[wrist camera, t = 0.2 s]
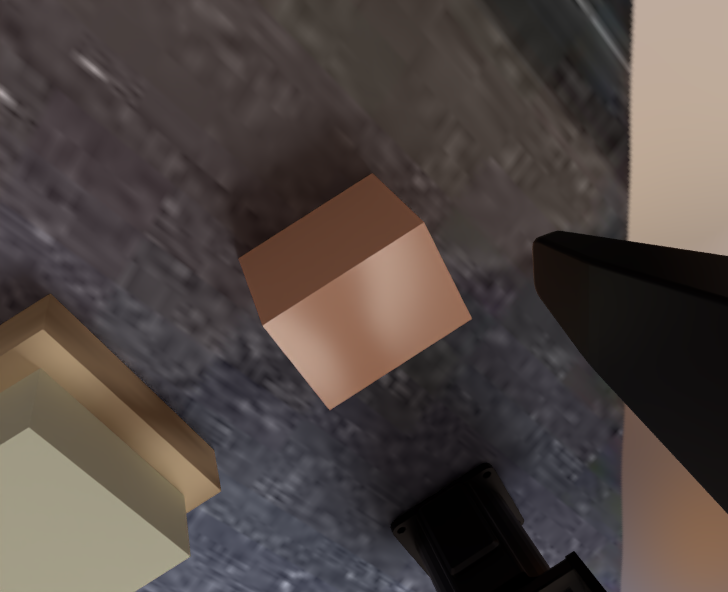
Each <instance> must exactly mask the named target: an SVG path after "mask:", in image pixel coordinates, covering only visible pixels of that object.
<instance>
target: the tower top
mask: <svg viewBox="0 0 728 592" xmlns="http://www.w3.org/2000/svg"><path fill="white" fill-rule="evenodd" d="M189 557H191V555H190V546H189V536H188V527H187V518H186V508H185V499H184V495H183V494H182V493H181V492H180V491H179V490H178V489H177V488H175V487H174V486H173V485H172V484H171V483H170V482H169V481H167V480H166V479H165V478H164V477H163V476H162V475H161V474H160V473H158V472H157V471H156V470H155V469H154V468H153V467H152V466H151V465H149V464H148V463H147V462H146V461H145V460H144V459H143V458H142V457H140V456H139V455H138V454H137V453H136V452H135V451H134V450H133V449H131V448H130V447H129V446H128V445H127V444H126V443H125V442H123V441H122V440H121V439H120V438H119V437H118V436H117V435H116V434H114V433H113V432H112V431H111V430H110V429H109V428H108V427H107V426H105V425H104V424H103V423H102V422H101V421H100V420H99V419H98V418H96V417H95V416H94V415H93V414H92V413H91V412H90V411H89V410H87V409H86V408H85V407H84V406H83V405H82V404H81V403H79V402H78V401H77V400H76V399H75V398H74V397H73V396H72V395H70V394H69V393H68V392H67V391H66V390H65V389H64V388H63V387H61V386H60V385H59V384H58V383H57V382H56V381H55V380H54V379H52V378H51V377H50V376H49V375H48V374H47V373H46V372H45V371H43V370H42V369H41V368H40V369H38V370H37V371H35V372H33V373H32V374H30V375H28V376H27V377H25V378H24V379H22V380H20V381H19V382H17V383H16V384H14V385H12V386H11V387H9V388H7V389H6V390H4V391H3V392H1V393H0V592H135V591H136V590H138V589H140V588H141V587H143V586H144V585H146V584H148V583H149V582H151V581H152V580H154V579H156V578H157V577H159V576H160V575H162V574H164V573H165V572H167V571H168V570H170V569H171V568H173V567H175V566H176V565H178V564H179V563H181V562H183V561H184V560H186V559H187V558H189Z"/></svg>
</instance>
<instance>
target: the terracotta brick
mask: <svg viewBox="0 0 728 592" xmlns="http://www.w3.org/2000/svg"><path fill="white" fill-rule="evenodd" d="M238 259H239V262H240V264H241V267H242V270H243V273H244V275H245V278H246V281H247V284H248V287H249V289H250V292H251V295H252V298H253V301H254V303H255V306H256V309H257V312H258V315H259V317H260V320H261V323H262V326H263V327H264V328H265V329H266V331H267V332H268V333H269V334H270V336H271V337H272V338H273V339H274V341H275V342H276V343H277V345H278V346H279V347H280V348H281V350H282V351H283V352H284V353H285V355H286V356H287V357H288V358H289V360H290V361H291V362H292V363H293V365H294V366H295V367H296V368H297V370H298V371H299V372H300V373H301V375H302V376H303V377H304V379H305V380H306V381H307V382H308V384H309V385H310V386H311V387H312V389H313V390H314V391H315V392H316V394H317V395H318V396H319V397H320V399H321V400H322V401H323V402H324V404H325V405H326V406H327V407H328V409H329V410H331V409H332V408H334V407H336V406H337V405H339V404H340V403H342V402H343V401H345V400H346V399H348V398H349V397H351V396H353V395H354V394H356V393H357V392H359V391H360V390H362V389H363V388H365V387H367V386H368V385H370V384H371V383H373V382H374V381H376V380H377V379H379V378H381V377H382V376H384V375H385V374H387V373H388V372H390V371H391V370H393V369H395V368H396V367H398V366H399V365H401V364H402V363H404V362H405V361H407V360H409V359H410V358H412V357H413V356H415V355H416V354H418V353H419V352H421V351H423V350H424V349H426V348H427V347H429V346H430V345H432V344H433V343H435V342H437V341H438V340H440V339H441V338H443V337H444V336H446V335H447V334H449V333H451V332H452V331H454V330H455V329H457V328H458V327H460V326H461V325H463V324H465V323H466V322H468V321H469V320H471V319H472V318H471V316H470V314H469V312H468V310H467V308H466V306H465V304H464V302H463V300H462V298H461V296H460V294H459V292H458V290H457V288H456V286H455V284H454V282H453V280H452V278H451V276H450V274H449V272H448V270H447V268H446V266H445V264H444V262H443V260H442V258H441V256H440V254H439V251H438V249H437V247H436V245H435V243H434V241H433V239H432V237H431V235H430V233H429V231H428V229H427V227H426V225H425V223H424V222H423V221H422V220H421V219H420V218H419V217H418V216H417V215H416V214H415V213H414V212H413V211H412V210H411V209H410V208H408V207H407V206H406V205H405V204H404V203H403V202H402V201H401V200H400V199H399V198H398V197H397V196H396V195H395V194H394V193H393V192H392V191H391V190H390V189H389V188H387V187H386V186H385V185H384V184H383V183H382V182H381V181H380V180H379V179H378V178H377V177H376V176H375V175H374V174H373V173H372V174H370V175H368V176H367V177H365V178H364V179H362V180H361V181H359V182H357V183H356V184H354V185H353V186H351V187H350V188H348V189H346V190H345V191H343V192H342V193H340V194H339V195H337V196H335V197H334V198H332V199H331V200H329V201H328V202H326V203H325V204H323V205H321V206H320V207H318V208H317V209H315V210H314V211H312V212H310V213H309V214H307V215H306V216H304V217H303V218H301V219H299V220H298V221H296V222H295V223H293V224H292V225H290V226H288V227H287V228H285V229H284V230H282V231H281V232H279V233H277V234H276V235H274V236H273V237H271V238H270V239H268V240H266V241H265V242H263V243H262V244H260V245H259V246H257V247H255V248H254V249H252V250H251V251H249V252H248V253H246V254H245V255H243V256H241V257H240V258H238Z"/></svg>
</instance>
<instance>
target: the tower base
mask: <svg viewBox="0 0 728 592" xmlns="http://www.w3.org/2000/svg"><path fill="white" fill-rule="evenodd" d="M40 368H41V369H42V370H43V371H45V372H46V373H47V374H48V375H49V376H50V377H51V378H52V379H54V380H55V381H56V382H57V383H58V384H59V385H60V386H61V387H63V388H64V389H65V390H66V391H67V392H68V393H69V394H70V395H72V396H73V397H74V398H75V399H76V400H77V401H78V402H79V403H81V404H82V405H83V406H84V407H85V408H86V409H87V410H89V411H90V412H91V413H92V414H93V415H94V416H95V417H96V418H98V419H99V420H100V421H101V422H102V423H103V424H104V425H105V426H107V427H108V428H109V429H110V430H111V431H112V432H113V433H114V434H116V435H117V436H118V437H119V438H120V439H121V440H122V441H123V442H125V443H126V444H127V445H128V446H129V447H130V448H131V449H133V450H134V451H135V452H136V453H137V454H138V455H139V456H140V457H142V458H143V459H144V460H145V461H146V462H147V463H148V464H149V465H151V466H152V467H153V468H154V469H155V470H156V471H157V472H158V473H160V474H161V475H162V476H163V477H164V478H165V479H166V480H167V481H169V482H170V483H171V484H172V485H173V486H174V487H175V488H177V489H178V490H179V491H180V492H181V493H182V494H183V495H184V499H185V508H186V513H188V512H189V511H191V510H192V509H194V508H195V507H197V506H199V505H200V504H202V503H203V502H205V501H206V500H208V499H210V498H211V497H213V496H214V495H216V494H217V493H219V492H220V491H221V487H220V481H219V475H218V470H217V464H216V458H215V453H214V450H213V449H212V448H211V447H210V446H209V445H208V444H207V443H206V442H205V441H204V440H203V439H202V438H201V437H200V436H199V435H198V434H197V433H196V432H194V431H193V430H192V429H191V428H190V427H189V426H188V425H187V424H186V423H185V422H184V421H183V420H182V419H181V418H180V417H179V416H178V415H177V414H176V413H175V412H174V411H173V410H172V409H171V408H169V407H168V406H167V405H166V404H165V403H164V402H163V401H162V400H161V399H160V398H159V397H158V396H157V395H156V394H155V393H154V392H153V391H152V390H151V389H150V388H149V387H148V386H147V385H145V384H144V383H143V382H142V381H141V380H140V379H139V378H138V377H137V376H136V375H135V374H134V373H133V372H132V371H131V370H130V369H129V368H128V367H127V366H126V365H125V364H124V363H123V362H121V361H120V360H119V359H118V358H117V357H116V356H115V355H114V354H113V353H112V352H111V351H110V350H109V349H108V348H107V347H106V346H105V345H104V344H103V343H102V342H101V341H100V340H99V339H98V338H96V337H95V336H94V335H93V334H92V333H91V332H90V331H89V330H88V329H87V328H86V327H85V326H84V325H83V324H82V323H81V322H80V321H79V320H78V319H77V318H76V317H75V316H74V315H72V314H71V313H70V312H69V311H68V310H67V309H66V308H65V307H64V306H63V305H62V304H61V303H60V302H59V301H58V300H57V299H56V298H55V297H54V296H53V295H52V294H51V293H50V294H49V295H47V296H45V297H44V298H42V299H41V300H39V301H38V302H36V303H34V304H33V305H31V306H30V307H28V308H26V309H25V310H23V311H22V312H20V313H19V314H17V315H15V316H14V317H12V318H11V319H9V320H8V321H6V322H4V323H3V324H1V325H0V393H1V392H3V391H4V390H6V389H7V388H9V387H11V386H12V385H14V384H16V383H17V382H19V381H20V380H22V379H24V378H25V377H27V376H28V375H30V374H32V373H33V372H35V371H37V370H38V369H40Z"/></svg>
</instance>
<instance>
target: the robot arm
mask: <svg viewBox="0 0 728 592" xmlns="http://www.w3.org/2000/svg"><path fill="white" fill-rule="evenodd" d="M532 254H533V273H534V285H535V289H536V291H537V294H538V296H539V297H540V299H541V300H542V301H543V303H544V304H545V305H546V307H547V308H548V309H549V311H550V312H551V314H552V315H553V316H554V318H555V319H556V320H557V322H558V323H559V324H560V326H561V327H562V329H563V330H564V331H565V333H566V334H567V335H568V337H569V338H570V339H571V341H572V342H573V344H574V345H575V346H576V348H577V349H578V350H579V352H580V353H581V354H582V356H583V357H584V358H585V359H586V361H587V362H588V363H589V364H590V366H591V367H592V368H593V369H594V370H595V371H596V372H597V373H598V375H599V376H600V377H601V378H602V379H603V380H604V381H605V382H606V383H607V384H608V385H609V386H610V387H611V389H612V390H613V391H614V392H615V393H616V394H617V395H618V396H619V397H620V398H621V399H622V400H623V402H624V403H625V404H626V405H627V406H628V407H629V408H630V409H631V410H632V411H633V412H634V413H635V414H636V416H638V418H639V419H640V420H641V421H642V422H643V423H644V424H645V425H646V426H647V427H648V428H649V429H650V431H651V432H652V433H654V435H655V436H656V437H657V438H658V439H659V440H660V441H661V442H662V443H663V445H664V446H665V447H666V448H667V449H668V450H669V451H670V452H671V453H672V454H673V455H674V456H675V457H676V459H677V460H678V461H679V462H680V463H681V464H682V465H683V466H684V467H685V468H686V469H687V470H688V472H689V473H690V474H691V475H692V476H693V477H694V478H695V479H696V480H697V481H698V482H699V483H700V484H701V485H702V487H703V488H704V489H705V490H706V491H707V492H708V493H709V494H710V495H711V496H712V497H713V499H714V500H715V501H716V502H717V503H718V504H719V505H720V506H721V507H722V508H723V509H724V510H725V511H726V513H727V514H728V256H724V255H717V254H711V253H704V252H698V251H691V250H684V249H678V248H671V247H665V246H658V245H651V244H645V243H638V242H631V241H625V240H618V239H612V238H605V237H598V236H592V235H585V234H578V233H572V232H565V231H554V232H551V233H549V234H546V235H543V236H540V237H538V238H536V239H535V241H534V242H533V246H532ZM523 523H524V519H523V517H522V515H521V514H520V512H519V510H518V509H517V507H516V505H515V503H514V502H513V500H512V498H511V497H510V495H509V493H508V492H507V490H506V488H505V486H504V485H503V483H502V481H501V480H500V478H499V476H498V475H497V473H496V471H495V470H494V468H493V467H492V465H491V464H490V463H483V464H481V465H479V466H478V467H476V468H475V469H473V470H472V471H470V472H469V473H467V474H466V475H464V476H462V477H461V478H459V479H458V480H456V481H455V482H453V483H452V484H450V485H449V486H447V487H445V488H444V489H442V490H441V491H439V492H438V493H436V494H435V495H433V496H432V497H430V498H428V499H427V500H425V501H424V502H422V503H421V504H419V505H418V506H416V507H415V508H413V509H411V510H410V511H408V512H407V513H405V514H404V515H402V516H401V517H399V518H398V519H396V520H395V521H393V522H392V524H391V527H390V528H391V530H392V532H393V535H394V536H395V537H396V538H397V540H398V541H399V542H400V543H401V544H402V545H403V547H404V548H405V549H406V550H407V551H408V552H409V553H410V555H411V556H412V557H413V558H414V559H415V560H416V562H417V563H418V564H419V565H420V566H421V567H422V568H423V570H424V571H425V572H426V573H427V574H428V575H429V577H430V578H431V581H432V583H433V585H434V587H435V589H436V591H437V592H607V591H606V590H605V589H604V588H603V586H602V585H601V584H600V583H599V581H598V580H597V579H596V578H595V576H594V575H593V574H592V573H591V571H590V570H589V569H588V568H587V566H586V565H585V564H584V563H583V561H582V560H581V559H580V558H579V556H578V555H577V554H576V553H575V551H573V552H572V553H570V554H568V555H567V556H565V558H566V559H564V560H563V561H561V562H560V563H558V564H557V565H555V566H553V567H552V568H550V567H549V565H548V564H547V562H546V561H545V559H544V558H543V556H542V555H541V553H540V552H539V551H538V549H537V548H536V546H535V545H534V543H533V542H532V540H531V539H530V537H529V536H528V534H527V533H526V531H525V530H524V528H523V527H522V525H523Z"/></svg>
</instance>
